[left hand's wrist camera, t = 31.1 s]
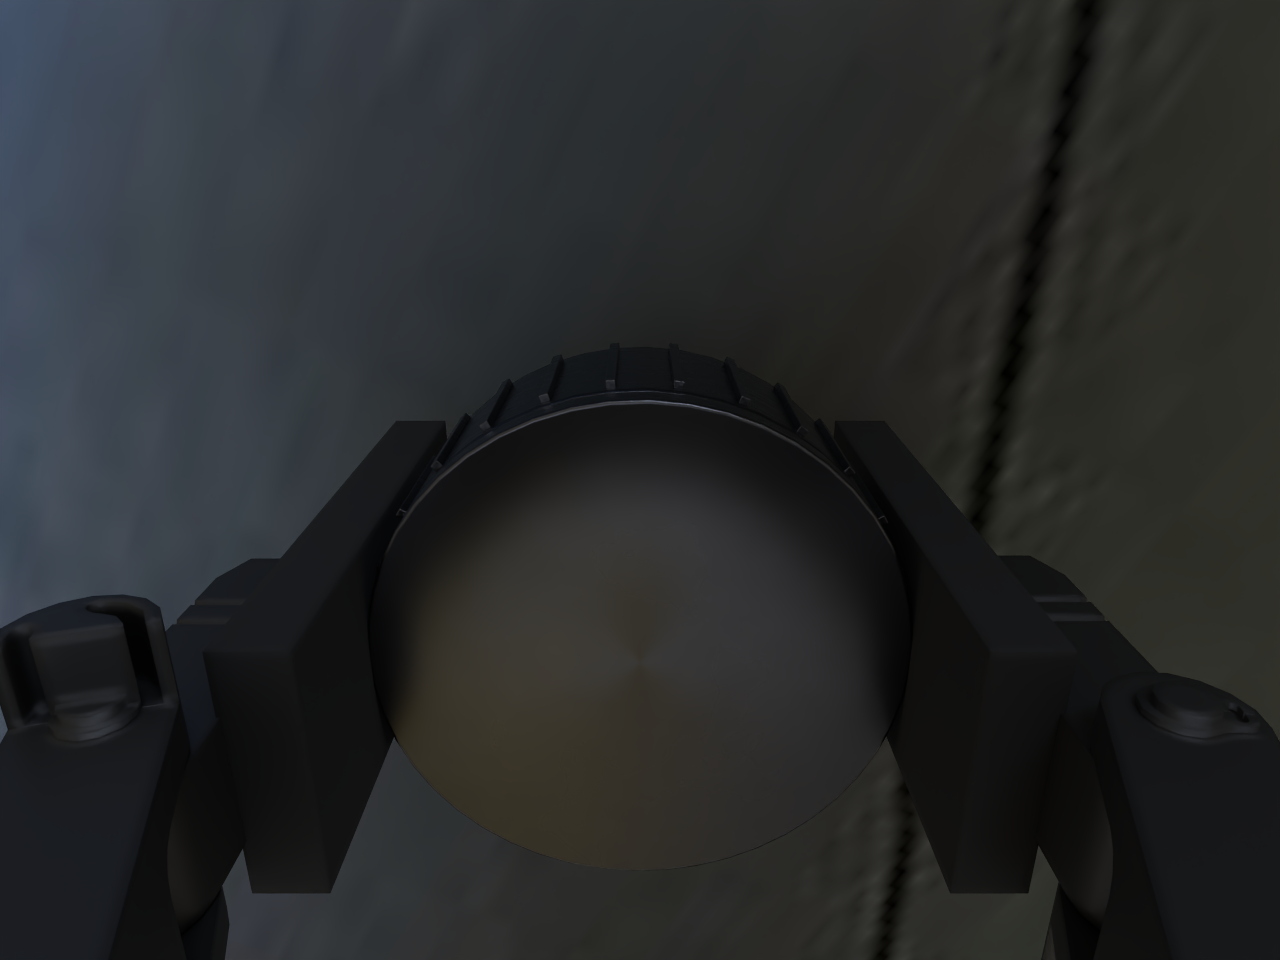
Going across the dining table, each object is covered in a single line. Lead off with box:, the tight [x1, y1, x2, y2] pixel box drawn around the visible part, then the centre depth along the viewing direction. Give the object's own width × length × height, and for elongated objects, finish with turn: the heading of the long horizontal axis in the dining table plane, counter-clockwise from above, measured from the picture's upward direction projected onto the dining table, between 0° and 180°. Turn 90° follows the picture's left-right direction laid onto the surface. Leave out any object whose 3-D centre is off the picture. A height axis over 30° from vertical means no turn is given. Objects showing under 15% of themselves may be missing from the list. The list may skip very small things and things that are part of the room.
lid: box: [368, 343, 913, 871], centre depth 11 cm, size 6×6×2 cm
